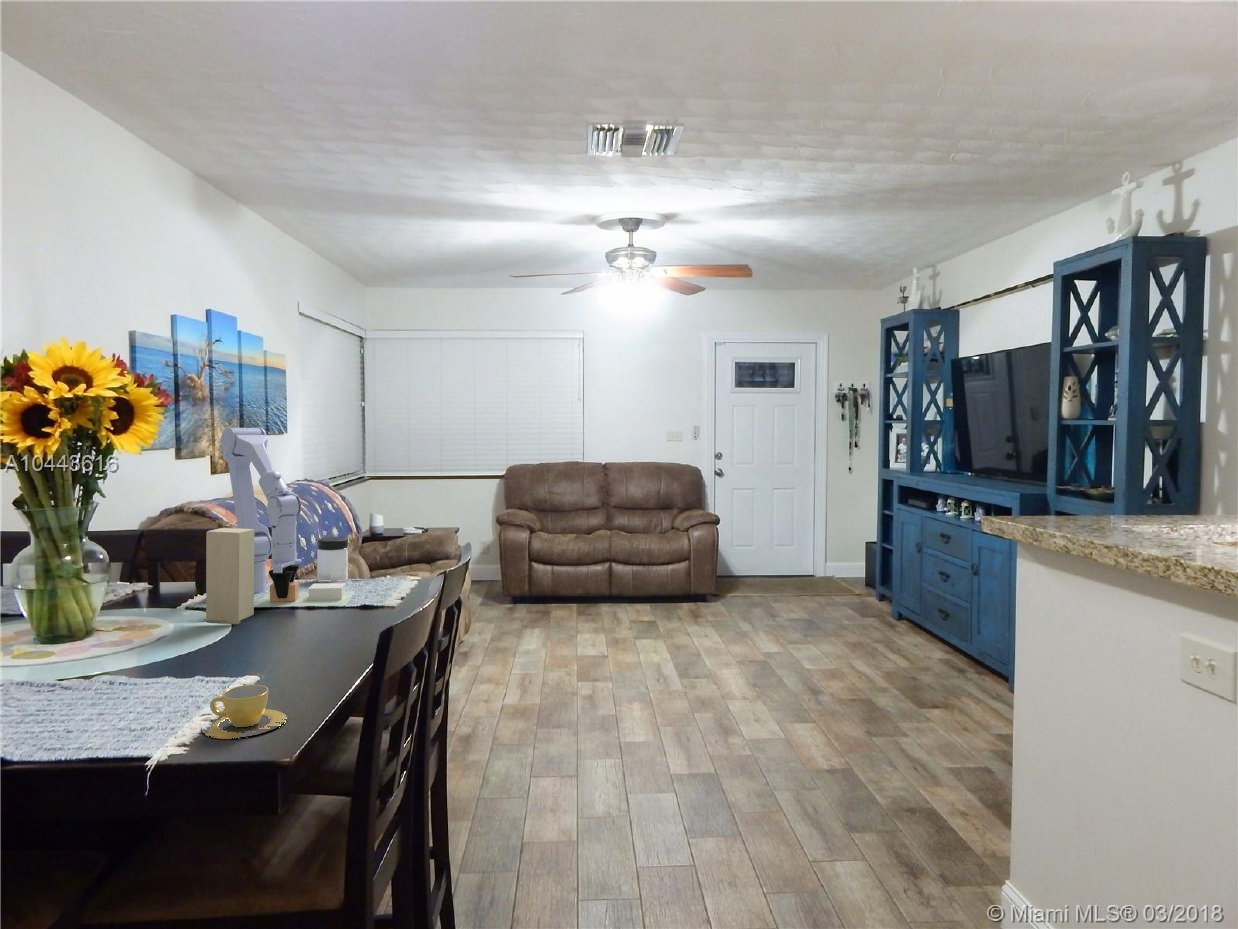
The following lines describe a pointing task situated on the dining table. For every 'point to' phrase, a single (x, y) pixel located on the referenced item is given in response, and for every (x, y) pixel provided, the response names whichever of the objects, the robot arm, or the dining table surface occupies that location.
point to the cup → (243, 710)
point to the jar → (332, 559)
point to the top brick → (292, 593)
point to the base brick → (327, 591)
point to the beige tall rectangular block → (229, 575)
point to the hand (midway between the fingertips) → (284, 596)
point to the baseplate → (303, 601)
